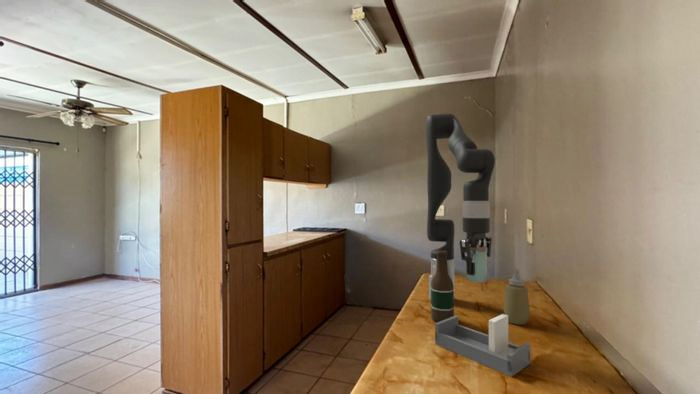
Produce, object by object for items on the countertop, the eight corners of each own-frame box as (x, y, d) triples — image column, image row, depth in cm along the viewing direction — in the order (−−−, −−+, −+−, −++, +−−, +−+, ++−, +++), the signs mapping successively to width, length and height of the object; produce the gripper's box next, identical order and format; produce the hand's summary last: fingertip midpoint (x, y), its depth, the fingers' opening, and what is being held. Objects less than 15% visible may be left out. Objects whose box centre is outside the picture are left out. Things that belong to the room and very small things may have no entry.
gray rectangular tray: (435, 344, 95) (435, 323, 95) (455, 334, 101) (455, 315, 101) (511, 376, 77) (511, 351, 77) (530, 363, 83) (530, 340, 83)
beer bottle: (455, 317, 115) (455, 249, 115) (452, 325, 108) (452, 253, 108) (432, 314, 118) (432, 248, 118) (428, 322, 111) (428, 251, 111)
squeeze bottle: (533, 327, 106) (533, 272, 106) (507, 325, 108) (506, 271, 107) (525, 318, 114) (525, 266, 114) (500, 316, 115) (500, 266, 115)
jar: (462, 279, 97) (462, 246, 97) (472, 276, 100) (472, 244, 101) (480, 283, 92) (480, 248, 92) (490, 280, 96) (490, 246, 96)
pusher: (488, 359, 83) (488, 320, 83) (502, 350, 88) (502, 313, 88) (506, 366, 80) (506, 325, 80) (519, 357, 84) (519, 318, 84)
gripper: (474, 217, 89) (475, 279, 89) (500, 216, 98) (500, 272, 98) (450, 216, 95) (451, 274, 95) (477, 215, 104) (477, 268, 104)
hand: (476, 273), depth 96 cm, fingers closed on jar, 5 cm apart
